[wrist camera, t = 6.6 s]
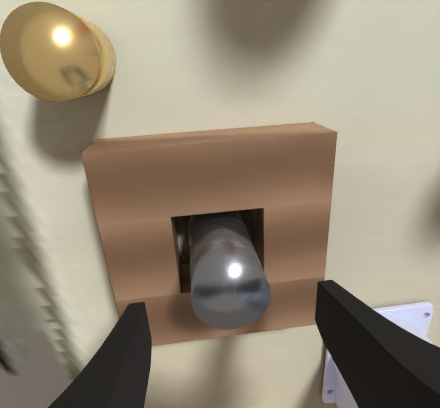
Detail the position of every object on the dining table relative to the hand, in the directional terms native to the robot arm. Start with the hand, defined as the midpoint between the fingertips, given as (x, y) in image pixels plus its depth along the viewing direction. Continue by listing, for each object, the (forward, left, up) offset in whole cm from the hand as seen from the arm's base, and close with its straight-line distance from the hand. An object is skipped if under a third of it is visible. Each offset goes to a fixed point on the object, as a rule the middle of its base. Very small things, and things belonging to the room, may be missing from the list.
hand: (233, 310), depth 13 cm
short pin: (+10, +6, -8) cm, 14 cm away
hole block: (0, 0, -8) cm, 8 cm away
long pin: (0, 0, -8) cm, 8 cm away
